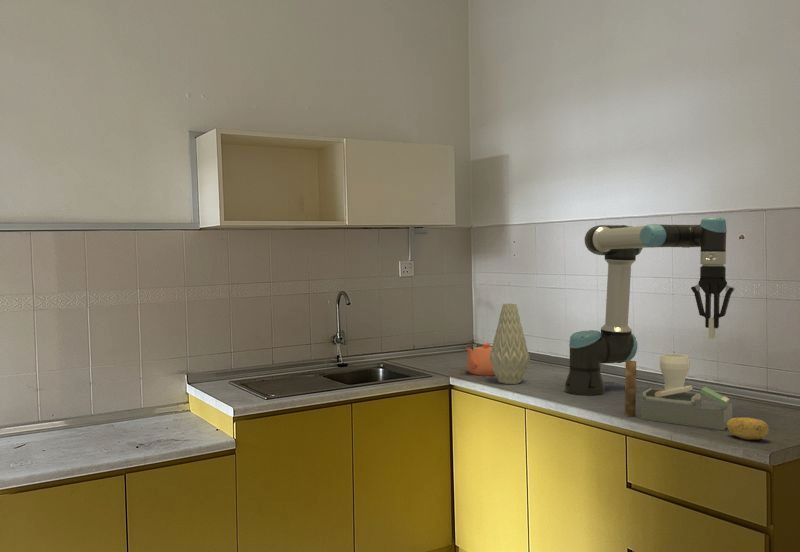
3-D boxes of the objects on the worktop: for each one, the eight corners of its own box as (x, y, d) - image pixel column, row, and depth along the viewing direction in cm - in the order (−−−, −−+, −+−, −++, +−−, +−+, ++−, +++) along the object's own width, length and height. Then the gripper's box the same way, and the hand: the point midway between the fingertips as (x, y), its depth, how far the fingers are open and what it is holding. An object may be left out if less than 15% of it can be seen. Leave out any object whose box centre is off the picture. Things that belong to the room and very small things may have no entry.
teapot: (479, 379, 304) (479, 347, 304) (451, 373, 317) (451, 344, 316) (517, 372, 320) (517, 343, 320) (490, 368, 333) (490, 339, 332)
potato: (761, 444, 200) (762, 422, 200) (722, 437, 209) (722, 415, 208) (771, 440, 205) (772, 419, 204) (732, 433, 213) (733, 412, 213)
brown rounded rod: (623, 415, 236) (624, 361, 235) (626, 413, 239) (627, 360, 238) (633, 416, 234) (634, 362, 233) (636, 415, 237) (637, 361, 236)
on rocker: (699, 392, 224) (701, 388, 223) (703, 389, 228) (705, 386, 227) (724, 405, 220) (726, 401, 219) (727, 402, 224) (729, 399, 223)
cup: (654, 392, 275) (655, 353, 275) (680, 391, 276) (681, 353, 276) (667, 397, 265) (667, 357, 264) (694, 397, 265) (695, 357, 265)
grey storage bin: (640, 419, 231) (641, 393, 230) (652, 411, 241) (652, 387, 241) (723, 430, 216) (724, 402, 216) (732, 422, 227) (732, 395, 227)
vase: (509, 377, 308) (509, 301, 307) (537, 383, 294) (538, 304, 293) (480, 381, 298) (480, 303, 297) (508, 387, 284) (509, 305, 283)
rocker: (655, 397, 232) (654, 393, 232) (659, 395, 236) (658, 391, 236) (689, 391, 226) (688, 386, 226) (692, 388, 229) (691, 384, 230)
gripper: (688, 265, 230) (687, 337, 231) (732, 265, 222) (731, 340, 223) (694, 265, 236) (693, 335, 237) (737, 265, 229) (736, 338, 229)
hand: (711, 338), depth 230 cm, fingers closed
